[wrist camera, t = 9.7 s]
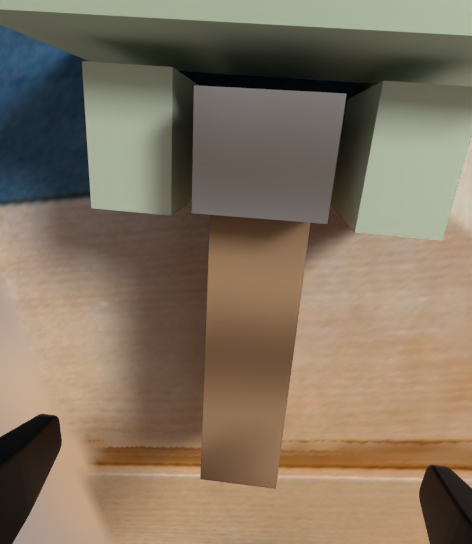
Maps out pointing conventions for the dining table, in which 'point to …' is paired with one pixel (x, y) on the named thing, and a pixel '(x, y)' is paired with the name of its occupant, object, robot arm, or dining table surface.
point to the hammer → (256, 259)
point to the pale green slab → (272, 63)
